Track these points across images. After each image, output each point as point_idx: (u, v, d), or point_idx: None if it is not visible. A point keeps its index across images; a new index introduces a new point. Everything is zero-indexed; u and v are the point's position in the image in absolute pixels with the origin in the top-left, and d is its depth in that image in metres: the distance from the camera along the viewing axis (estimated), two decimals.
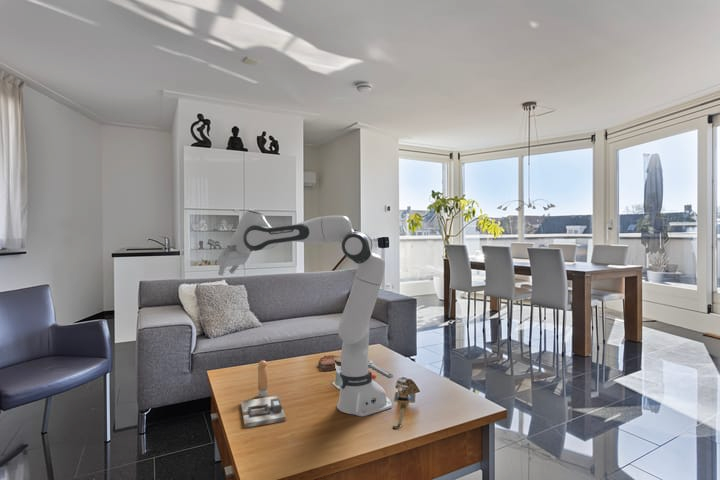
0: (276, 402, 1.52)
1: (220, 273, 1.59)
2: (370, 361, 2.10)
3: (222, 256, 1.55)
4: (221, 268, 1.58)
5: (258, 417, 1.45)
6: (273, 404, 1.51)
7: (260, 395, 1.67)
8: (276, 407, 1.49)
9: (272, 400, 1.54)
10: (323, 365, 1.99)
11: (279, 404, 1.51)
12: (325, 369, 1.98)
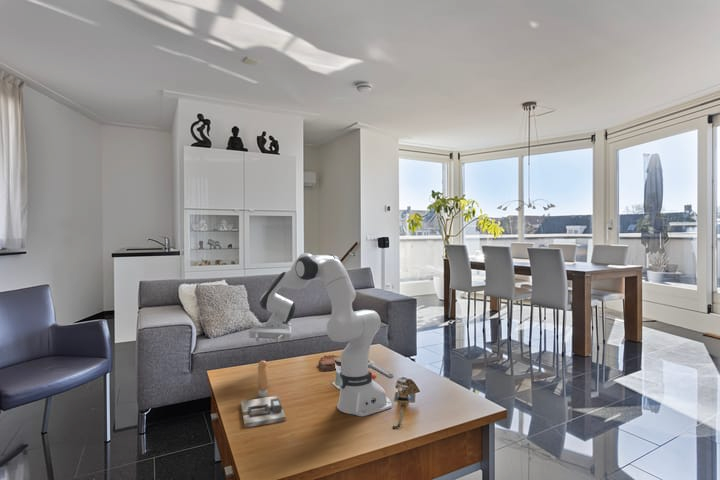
0: (276, 402, 1.52)
1: None
2: (371, 361, 2.09)
3: None
4: (255, 336, 1.82)
5: (258, 417, 1.45)
6: (273, 404, 1.51)
7: (260, 395, 1.67)
8: (276, 407, 1.49)
9: (272, 400, 1.54)
10: (323, 365, 1.99)
11: (279, 404, 1.51)
12: (325, 369, 1.98)
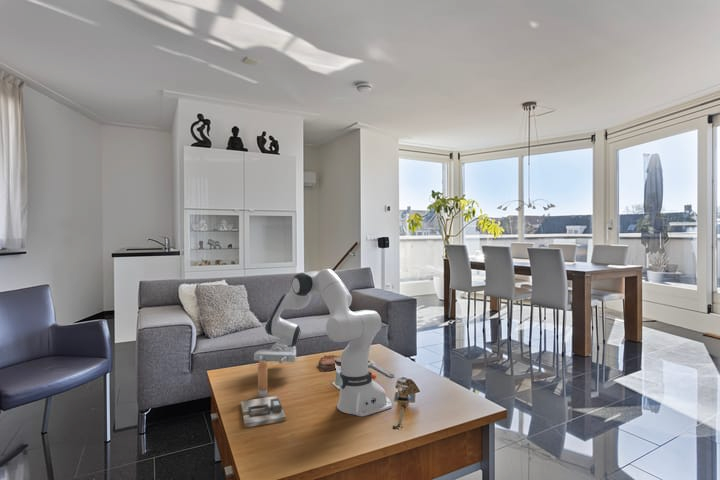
0: (276, 402, 1.52)
1: None
2: (371, 361, 2.09)
3: None
4: (259, 358, 1.84)
5: (258, 417, 1.45)
6: (273, 404, 1.51)
7: (260, 395, 1.67)
8: (276, 407, 1.49)
9: (272, 400, 1.54)
10: (323, 365, 1.99)
11: (279, 404, 1.51)
12: (325, 369, 1.98)
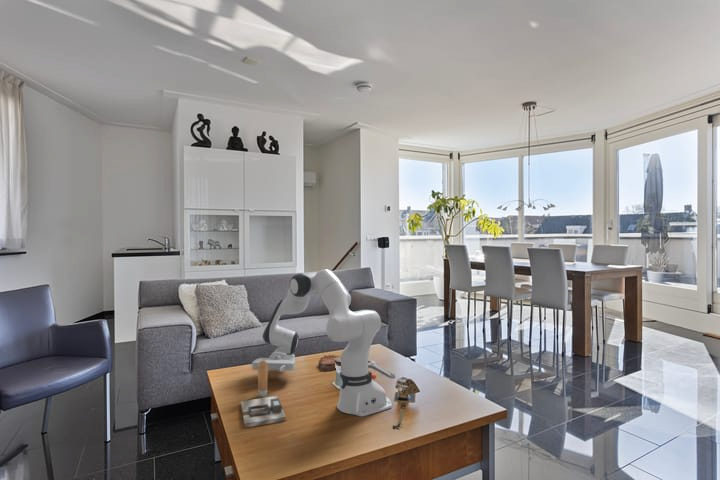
0: (276, 402, 1.52)
1: None
2: (372, 361, 2.09)
3: None
4: None
5: (258, 417, 1.45)
6: (273, 404, 1.51)
7: (260, 395, 1.67)
8: (276, 407, 1.49)
9: (272, 400, 1.54)
10: (323, 365, 1.99)
11: (279, 404, 1.51)
12: (325, 369, 1.98)
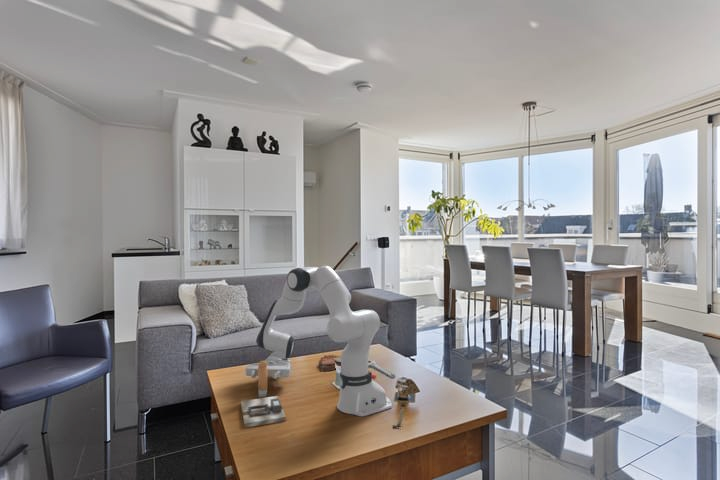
0: (276, 402, 1.52)
1: None
2: (372, 361, 2.09)
3: None
4: (251, 373, 1.72)
5: (258, 417, 1.45)
6: (273, 404, 1.51)
7: (260, 395, 1.67)
8: (276, 407, 1.49)
9: (272, 400, 1.54)
10: (323, 365, 1.99)
11: (279, 404, 1.51)
12: (325, 369, 1.98)
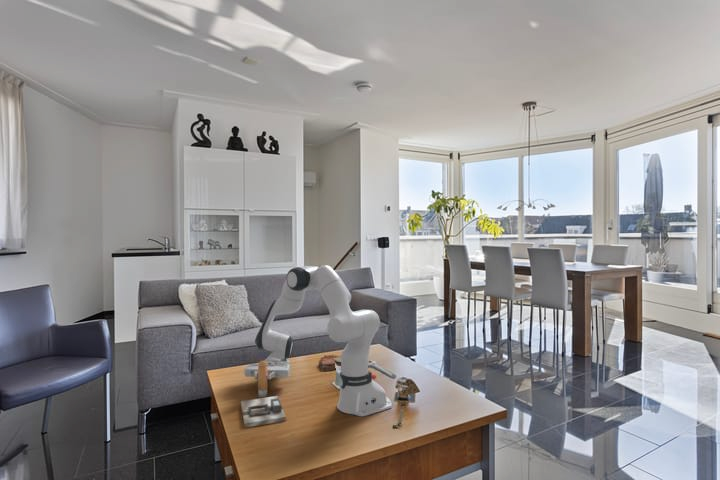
0: (276, 402, 1.52)
1: None
2: (373, 361, 2.09)
3: None
4: (254, 374, 1.71)
5: (258, 417, 1.45)
6: (273, 404, 1.51)
7: (260, 395, 1.67)
8: (276, 407, 1.49)
9: (272, 400, 1.54)
10: (324, 365, 1.99)
11: (279, 404, 1.51)
12: (326, 369, 1.98)
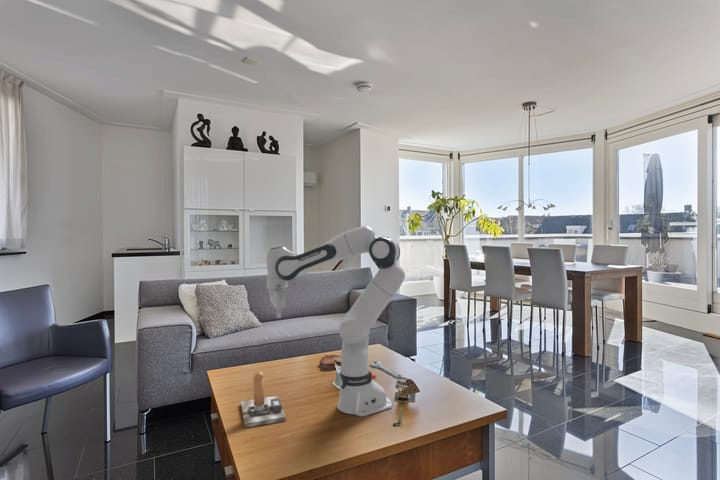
0: (276, 402, 1.52)
1: (279, 316, 1.63)
2: (378, 362, 2.08)
3: (279, 299, 1.58)
4: (279, 311, 1.62)
5: (258, 417, 1.45)
6: (273, 404, 1.51)
7: (256, 411, 1.49)
8: (276, 407, 1.49)
9: (272, 400, 1.54)
10: (324, 364, 2.00)
11: (279, 404, 1.51)
12: (326, 368, 1.99)
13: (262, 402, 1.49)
